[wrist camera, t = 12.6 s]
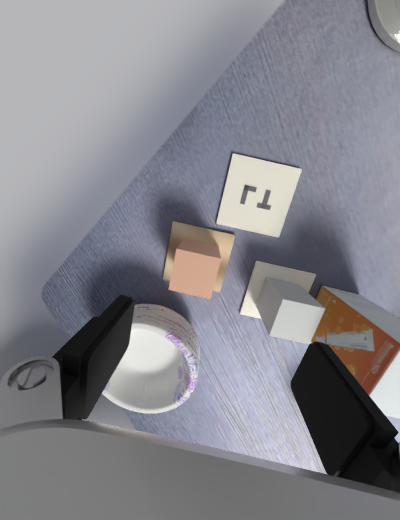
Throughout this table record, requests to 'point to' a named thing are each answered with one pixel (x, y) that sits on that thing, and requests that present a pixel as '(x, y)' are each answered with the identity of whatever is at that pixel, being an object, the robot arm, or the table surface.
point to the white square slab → (257, 195)
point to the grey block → (288, 310)
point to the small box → (363, 344)
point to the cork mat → (202, 235)
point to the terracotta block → (195, 268)
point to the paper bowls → (156, 362)
